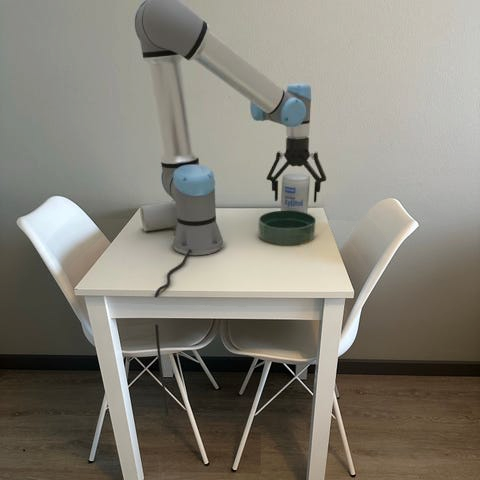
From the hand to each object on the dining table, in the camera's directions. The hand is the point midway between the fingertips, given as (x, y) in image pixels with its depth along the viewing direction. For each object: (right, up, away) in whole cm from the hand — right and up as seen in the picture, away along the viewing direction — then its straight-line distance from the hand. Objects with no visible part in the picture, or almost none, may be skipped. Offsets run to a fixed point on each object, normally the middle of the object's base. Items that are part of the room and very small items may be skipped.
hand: (295, 200), depth 164 cm
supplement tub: (0, -5, +3) cm, 6 cm away
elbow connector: (-44, -9, -2) cm, 45 cm away
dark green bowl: (-4, -15, -13) cm, 20 cm away
